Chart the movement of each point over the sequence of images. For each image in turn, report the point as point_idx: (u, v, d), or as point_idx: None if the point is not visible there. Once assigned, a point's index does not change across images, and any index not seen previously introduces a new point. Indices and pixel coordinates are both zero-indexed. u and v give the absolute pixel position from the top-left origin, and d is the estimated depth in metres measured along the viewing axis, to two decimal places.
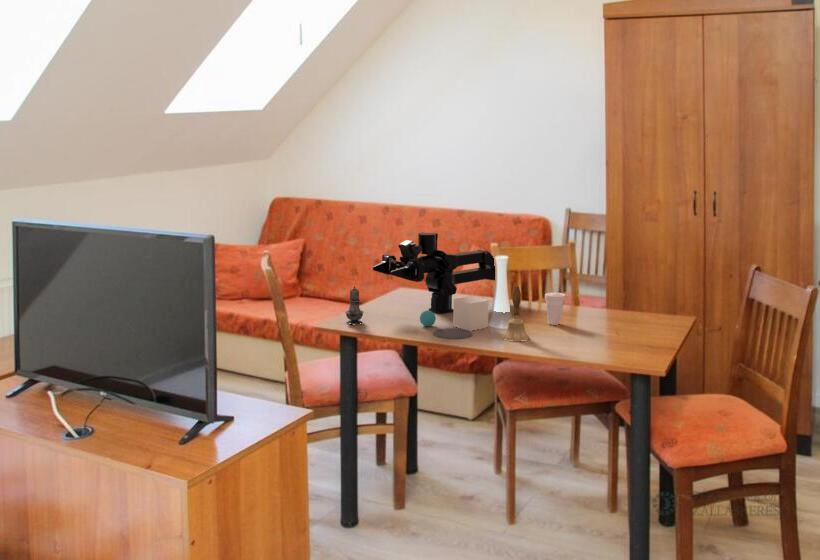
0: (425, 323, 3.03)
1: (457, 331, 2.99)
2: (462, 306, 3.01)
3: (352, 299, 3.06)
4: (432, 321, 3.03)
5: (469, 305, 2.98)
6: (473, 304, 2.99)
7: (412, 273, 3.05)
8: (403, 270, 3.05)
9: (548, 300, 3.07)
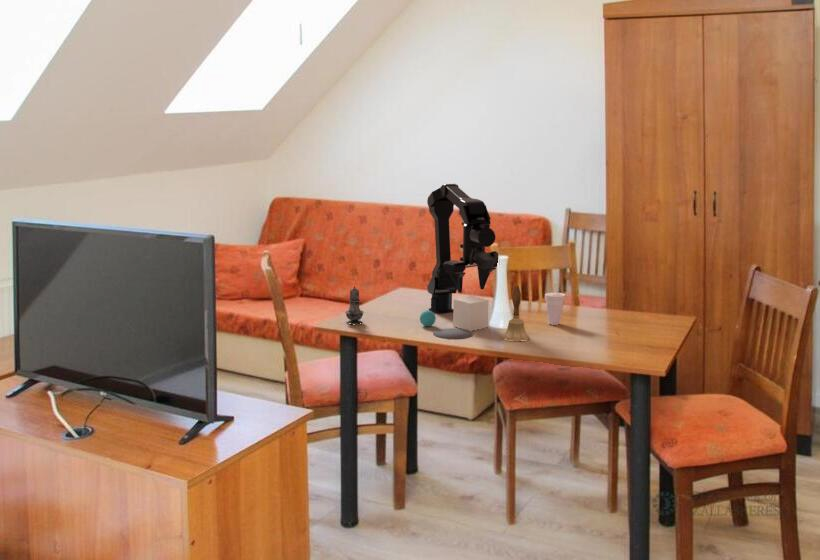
0: (425, 323, 3.03)
1: (457, 331, 2.99)
2: (462, 306, 3.01)
3: (352, 299, 3.06)
4: (432, 321, 3.03)
5: (469, 305, 2.98)
6: (473, 304, 2.99)
7: None
8: None
9: (548, 300, 3.07)
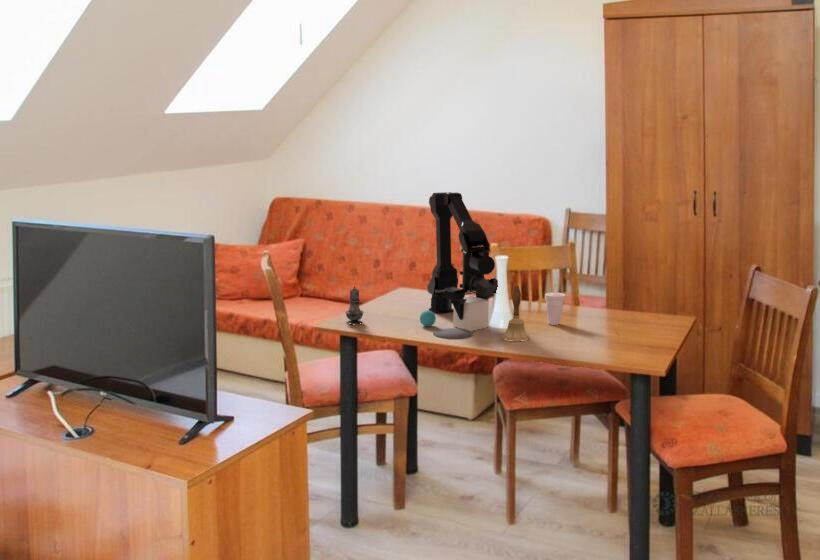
0: (425, 323, 3.03)
1: (457, 331, 2.99)
2: None
3: (352, 299, 3.06)
4: (432, 321, 3.03)
5: (469, 305, 2.98)
6: (473, 304, 2.99)
7: None
8: None
9: (548, 300, 3.07)
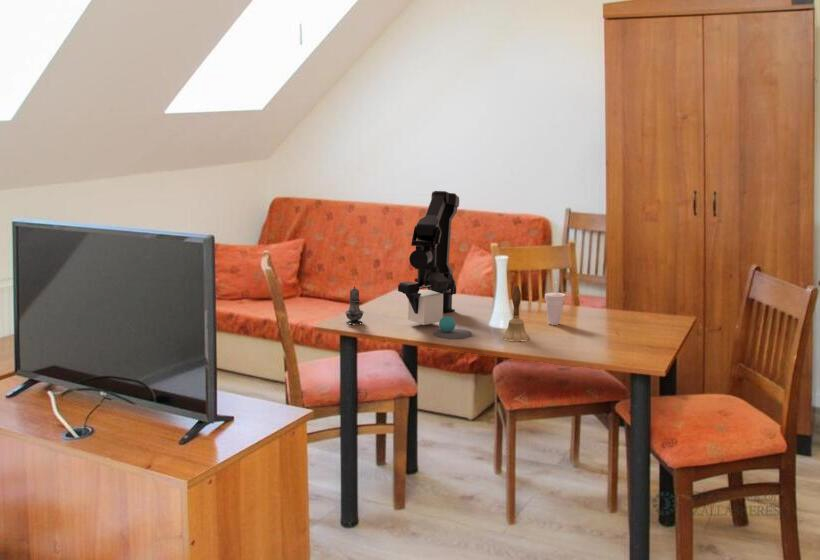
0: (442, 319, 2.97)
1: (457, 331, 2.99)
2: None
3: (352, 299, 3.06)
4: None
5: (423, 299, 3.00)
6: (427, 298, 3.00)
7: None
8: None
9: (548, 300, 3.07)
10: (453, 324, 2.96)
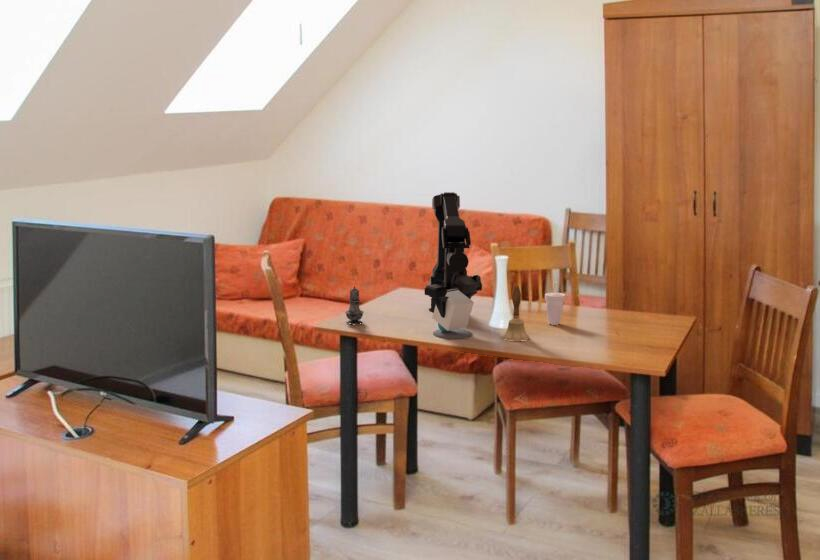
0: None
1: (457, 331, 2.99)
2: (446, 304, 2.91)
3: (352, 299, 3.06)
4: None
5: (453, 306, 2.89)
6: (457, 306, 2.89)
7: None
8: None
9: (548, 300, 3.07)
10: None
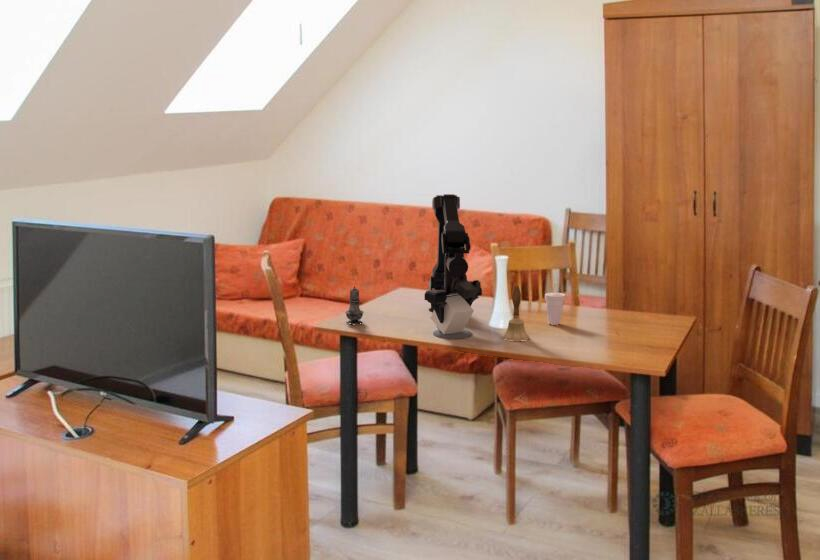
0: None
1: None
2: (446, 308, 2.92)
3: (352, 299, 3.06)
4: None
5: (453, 313, 2.90)
6: (457, 313, 2.90)
7: None
8: None
9: (548, 300, 3.07)
10: None
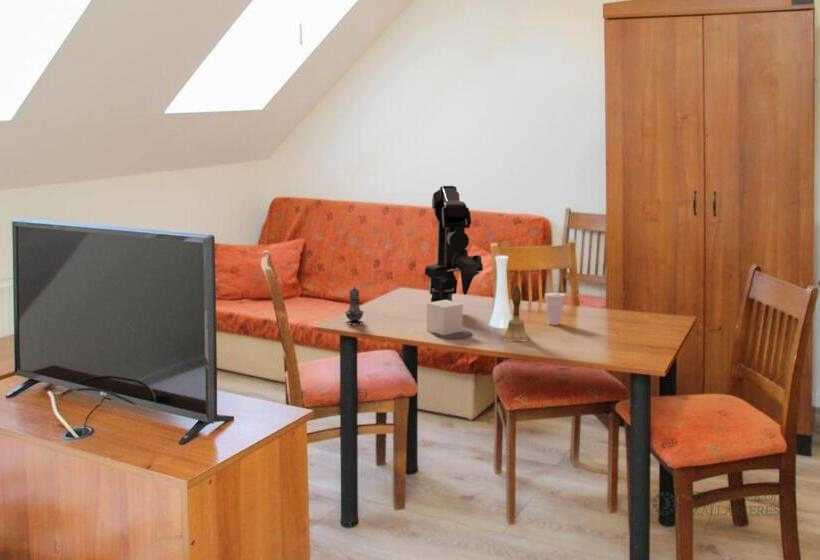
0: None
1: None
2: (435, 310, 2.95)
3: (352, 299, 3.06)
4: None
5: (442, 309, 2.93)
6: (447, 308, 2.93)
7: None
8: None
9: (548, 300, 3.07)
10: None
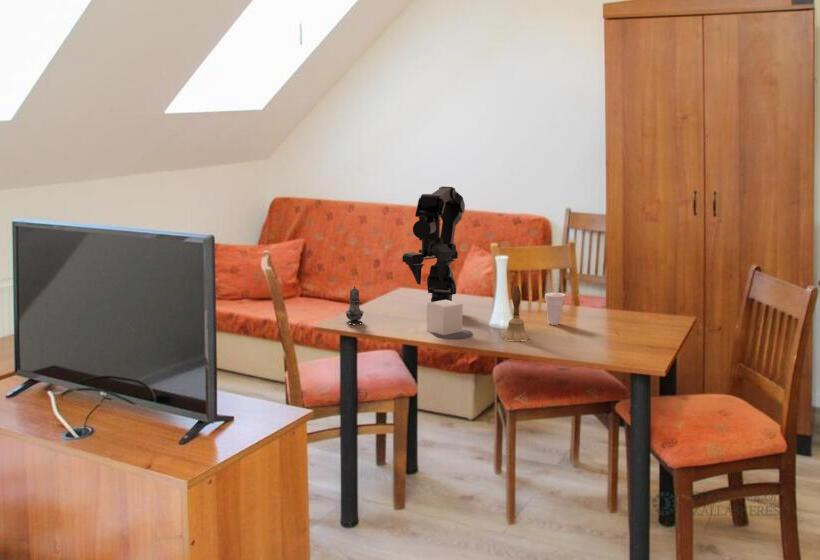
0: None
1: None
2: (435, 310, 2.95)
3: (352, 299, 3.06)
4: None
5: (442, 309, 2.93)
6: (446, 308, 2.93)
7: None
8: None
9: (548, 300, 3.07)
10: None
